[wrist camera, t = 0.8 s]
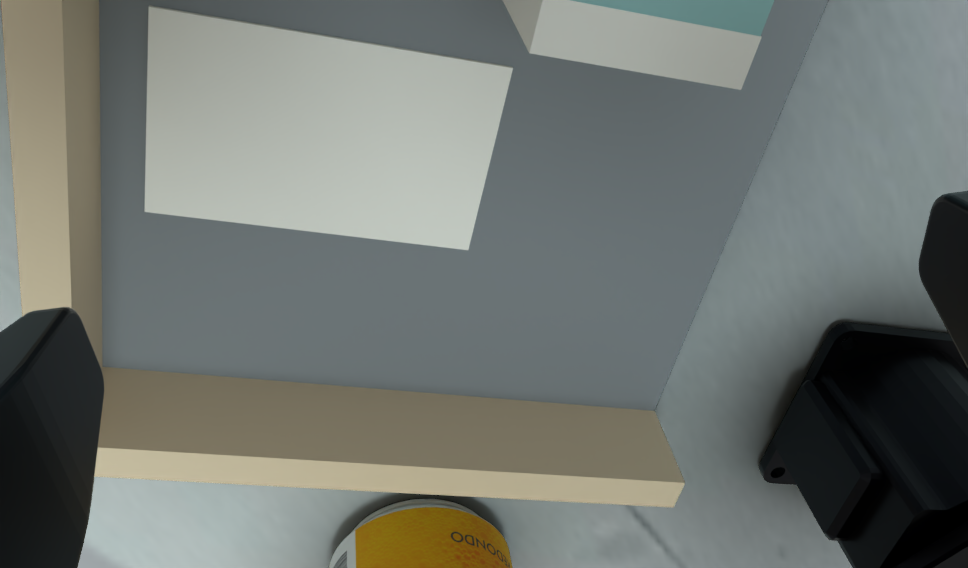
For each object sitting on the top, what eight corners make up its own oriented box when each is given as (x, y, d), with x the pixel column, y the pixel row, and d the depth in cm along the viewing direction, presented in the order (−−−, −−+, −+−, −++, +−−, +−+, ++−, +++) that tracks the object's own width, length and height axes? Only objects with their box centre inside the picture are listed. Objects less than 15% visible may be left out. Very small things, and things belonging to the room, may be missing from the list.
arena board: (954, -339, 18) (1075, -341, 15) (638, 421, 29) (673, 507, 26) (33, -629, 14) (-48, -707, 11) (68, 378, 25) (32, 473, 22)
